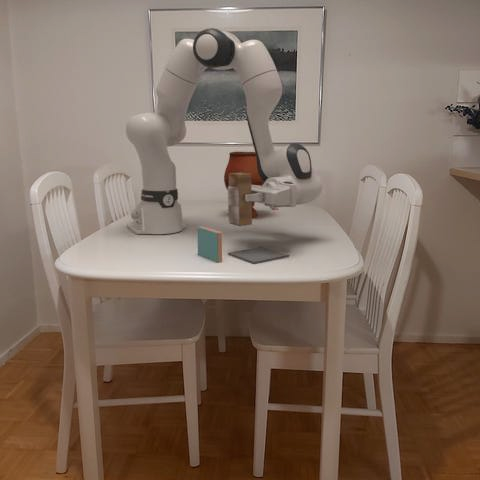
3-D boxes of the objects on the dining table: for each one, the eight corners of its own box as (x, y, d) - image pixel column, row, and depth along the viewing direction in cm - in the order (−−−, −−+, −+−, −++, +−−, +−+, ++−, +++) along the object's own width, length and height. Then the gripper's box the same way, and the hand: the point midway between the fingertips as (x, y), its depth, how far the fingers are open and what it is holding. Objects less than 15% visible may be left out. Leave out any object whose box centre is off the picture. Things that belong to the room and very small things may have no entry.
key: (282, 211, 209) (276, 205, 224) (282, 209, 209) (276, 203, 224) (269, 210, 209) (263, 204, 223) (269, 208, 209) (264, 202, 223)
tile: (197, 254, 138) (197, 226, 136) (202, 254, 138) (201, 226, 137) (217, 262, 130) (217, 233, 128) (222, 261, 131) (221, 232, 129)
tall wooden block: (228, 224, 138) (226, 173, 135) (241, 221, 141) (240, 172, 138) (238, 226, 134) (237, 174, 131) (251, 224, 137) (251, 173, 134)
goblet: (256, 222, 182) (257, 154, 176) (214, 217, 192) (213, 152, 186) (280, 214, 198) (281, 151, 192) (239, 210, 208) (239, 150, 202)
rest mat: (227, 254, 137) (227, 252, 137) (261, 248, 144) (261, 246, 144) (254, 264, 128) (254, 262, 128) (288, 257, 135) (288, 254, 135)
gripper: (254, 178, 151) (216, 182, 143) (300, 184, 135) (260, 188, 127) (254, 199, 152) (217, 204, 144) (299, 207, 136) (260, 212, 128)
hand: (237, 196), depth 135 cm, fingers closed on tall wooden block, 5 cm apart
